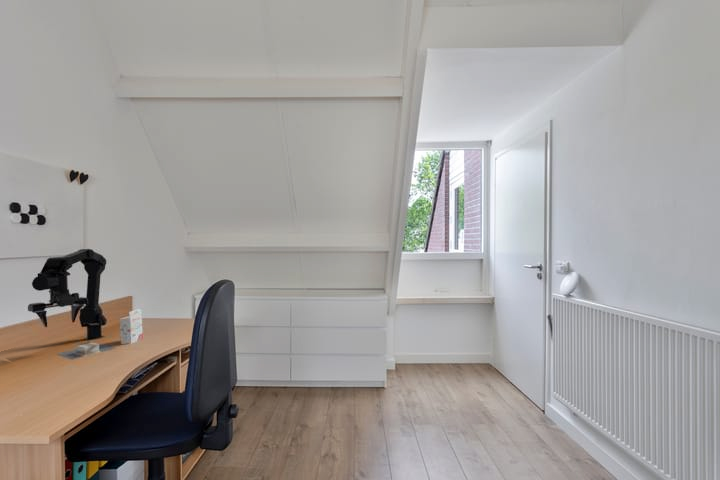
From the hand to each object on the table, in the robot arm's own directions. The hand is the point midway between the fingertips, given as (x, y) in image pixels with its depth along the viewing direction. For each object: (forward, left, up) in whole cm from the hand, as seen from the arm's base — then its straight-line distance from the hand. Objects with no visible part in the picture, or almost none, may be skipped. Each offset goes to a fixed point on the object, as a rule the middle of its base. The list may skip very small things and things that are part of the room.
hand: (59, 324), depth 150 cm
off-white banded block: (+11, +5, -11) cm, 17 cm away
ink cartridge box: (+10, +23, -12) cm, 28 cm away
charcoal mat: (+8, +6, -12) cm, 16 cm away
